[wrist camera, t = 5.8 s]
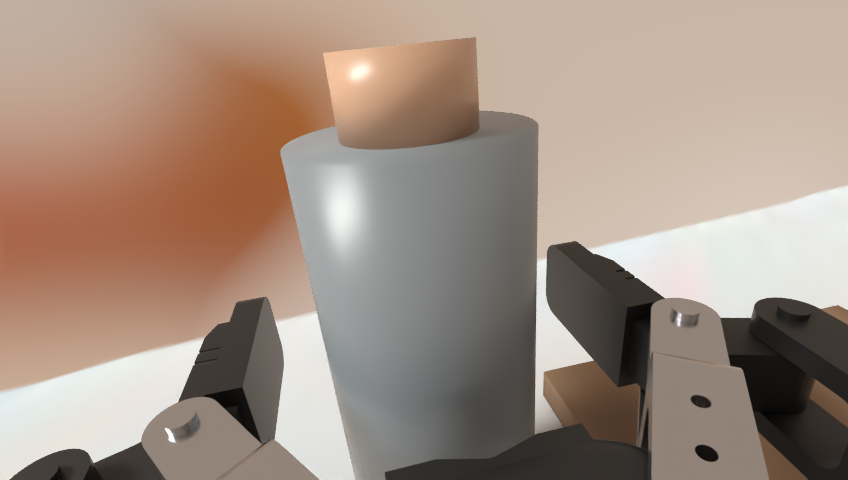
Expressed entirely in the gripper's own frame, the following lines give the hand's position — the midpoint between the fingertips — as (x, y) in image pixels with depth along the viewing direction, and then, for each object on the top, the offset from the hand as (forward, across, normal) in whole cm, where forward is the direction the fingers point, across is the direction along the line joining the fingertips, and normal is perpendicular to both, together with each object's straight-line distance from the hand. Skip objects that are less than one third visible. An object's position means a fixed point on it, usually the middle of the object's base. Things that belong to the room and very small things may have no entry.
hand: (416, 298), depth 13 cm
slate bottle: (-2, 0, +7) cm, 7 cm away
